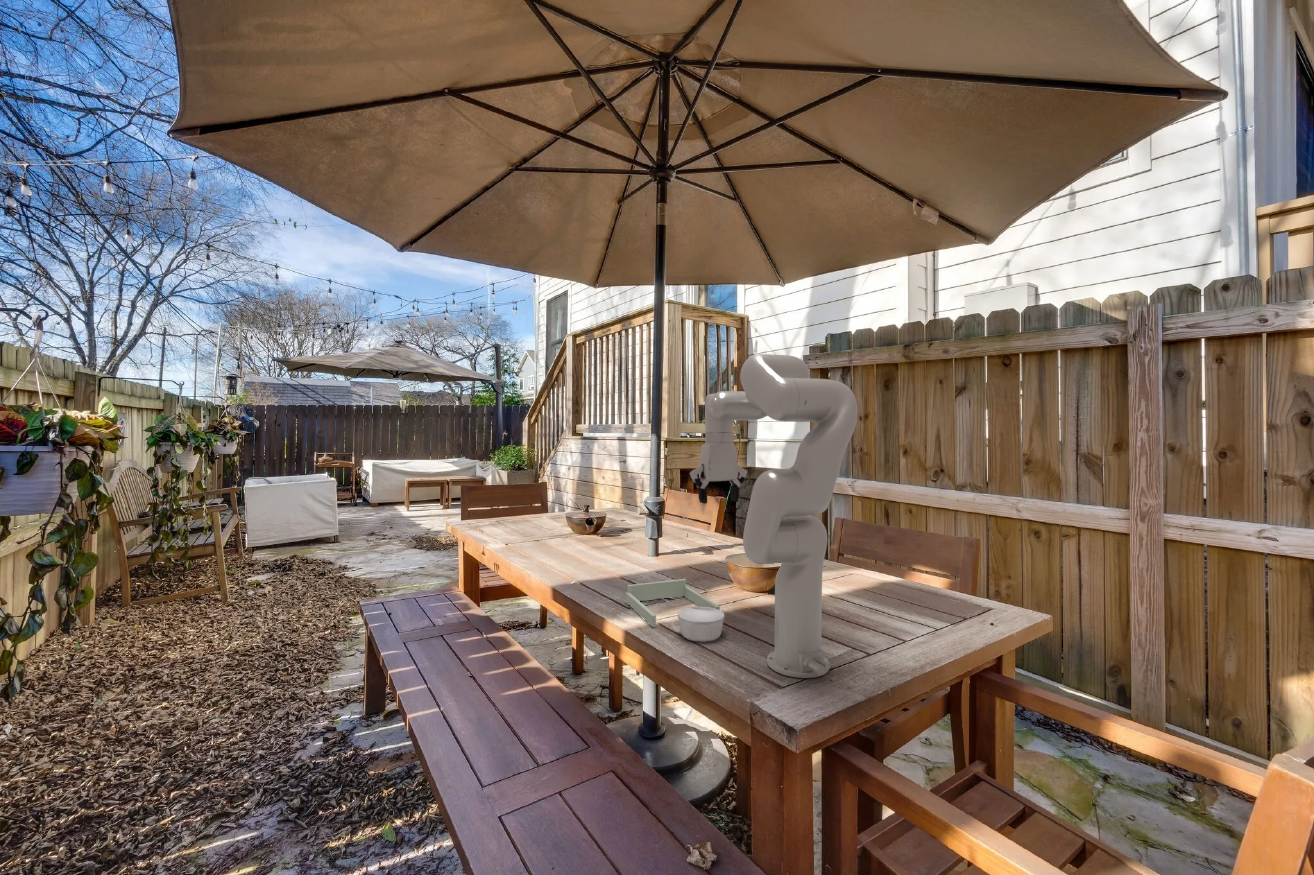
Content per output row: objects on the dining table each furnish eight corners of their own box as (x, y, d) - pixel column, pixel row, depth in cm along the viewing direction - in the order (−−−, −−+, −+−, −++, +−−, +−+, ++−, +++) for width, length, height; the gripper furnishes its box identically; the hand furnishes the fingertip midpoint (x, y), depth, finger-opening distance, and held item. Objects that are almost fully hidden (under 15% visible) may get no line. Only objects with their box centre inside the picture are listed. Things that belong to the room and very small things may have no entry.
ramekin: (723, 627, 137) (723, 606, 137) (725, 645, 126) (725, 622, 126) (678, 626, 138) (678, 605, 138) (677, 643, 127) (677, 621, 127)
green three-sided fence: (719, 618, 143) (719, 599, 143) (652, 627, 136) (652, 607, 136) (686, 595, 163) (686, 578, 163) (625, 602, 156) (625, 585, 156)
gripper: (739, 438, 156) (738, 498, 156) (684, 439, 149) (684, 502, 149) (753, 439, 149) (753, 502, 149) (697, 439, 142) (697, 505, 142)
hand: (718, 502), depth 149 cm, fingers open, 9 cm apart
